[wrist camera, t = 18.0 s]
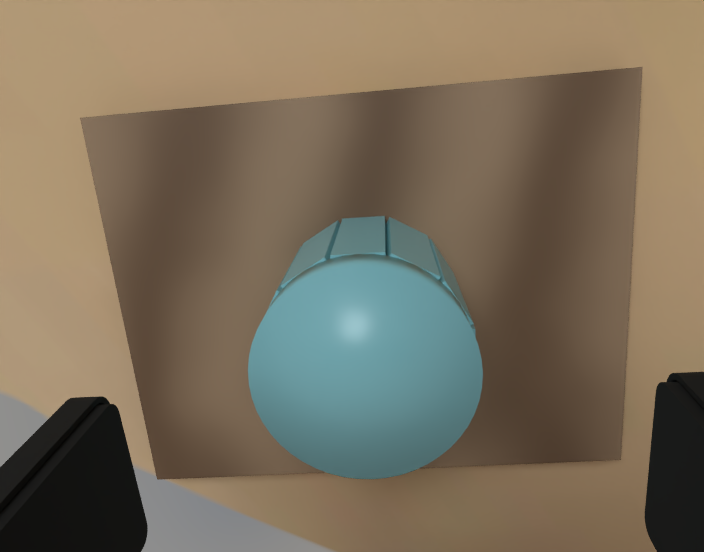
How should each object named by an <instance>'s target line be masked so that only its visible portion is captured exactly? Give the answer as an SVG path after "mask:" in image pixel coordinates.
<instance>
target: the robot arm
mask: <svg viewBox="0 0 704 552" xmlns="http://www.w3.org/2000/svg"><path fill="white" fill-rule="evenodd" d="M645 523H646V528H647V532H648V535H649V537H650V539H651V541H652V543H653V545H654V547H655V549H656V550H657V552H704V372H688V373H672V374H671V375H669V377H668V379H667V382H660V383H659V384H658V386H657V389H656V397H655V408H654V419H653V430H652V441H651V452H650V463H649V473H648V484H647V495H646V506H645ZM146 537H147V521H146V517H145V513H144V509H143V505H142V501H141V497H140V494H139V490H138V485H137V481H136V477H135V473H134V469H133V465H132V461H131V457H130V453H129V449H128V445H127V441H126V437H125V433H124V430H123V426H122V422H121V418H120V414H119V411H118V408H117V407H116V405H114V404H110V403H109V401H108V400H107V399H106V398H104V397H80V398H70V399H69V400H67V401H66V402H65V403H64V404H63V405H62V406H61V407H60V408H59V409H58V410H57V411H56V412H55V413H54V414H53V415H52V416H51V417H50V418H49V419H48V420H47V421H46V422H45V423H44V424H43V425H42V426H41V427H40V428H39V429H38V430H37V431H36V432H35V433H34V434H33V435H32V436H31V437H30V438H29V439H28V440H27V441H26V442H25V443H24V444H23V445H22V446H21V447H20V448H19V449H18V450H17V451H16V452H15V453H14V454H13V455H12V456H11V457H10V458H9V459H8V460H7V461H6V462H5V463H4V464H3V465H2V466H1V467H0V552H141V551H142V549H143V547H144V544H145V542H146Z"/></svg>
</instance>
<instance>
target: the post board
mask: <svg viewBox="0 0 704 552" xmlns="http://www.w3.org/2000/svg"><path fill="white" fill-rule="evenodd" d="M641 82H642V67H637V68H626V69H615V70H604V71H593V72H582V73H571V74H560V75H549V76H538V77H527V78H516V79H505V80H494V81H483V82H471V83H460V84H449V85H438V86H427V87H416V88H405V89H394V90H383V91H372V92H361V93H350V94H339V95H328V96H317V97H306V98H295V99H284V100H273V101H262V102H251V103H240V104H229V105H217V106H206V107H195V108H184V109H173V110H162V111H151V112H140V113H129V114H118V115H107V116H96V117H85V118H80V119H81V124H82V129H83V133H84V138H85V143H86V147H87V152H88V157H89V161H90V166H91V171H92V176H93V180H94V185H95V190H96V194H97V199H98V204H99V208H100V213H101V218H102V222H103V227H104V232H105V237H106V241H107V246H108V251H109V255H110V260H111V265H112V269H113V274H114V279H115V283H116V288H117V293H118V298H119V302H120V307H121V312H122V316H123V321H124V326H125V330H126V335H127V340H128V344H129V349H130V354H131V359H132V363H133V368H134V373H135V377H136V382H137V387H138V391H139V396H140V401H141V405H142V410H143V415H144V420H145V424H146V429H147V434H148V438H149V443H150V448H151V452H152V457H153V462H154V466H155V471H156V476H157V479H180V478H204V477H227V476H251V475H274V474H298V473H321V472H324V471H321V470H319V469H316V468H314V467H312V466H310V465H308V464H306V463H304V462H302V461H301V460H299V459H298V458H296V457H295V456H293V455H292V454H291V453H289V452H288V451H287V450H286V449H285V448H284V447H282V446H281V445H280V444H279V443H278V442H277V441H276V439H275V438H274V437H273V436H272V435H271V434H270V432H269V431H268V430H267V428H266V427H265V425H264V424H263V422H262V420H261V418H260V417H259V415H258V413H257V411H256V408H255V405H254V403H253V400H252V397H251V392H250V387H249V380H248V362H249V354H250V349H251V345H252V341H253V339H254V336H255V334H256V331H257V329H258V327H259V325H260V323H261V321H262V320H263V318H264V316H265V314H266V312H267V310H268V308H269V306H270V303H271V301H272V299H273V297H274V295H275V293H276V291H277V289H278V287H279V285H280V283H281V281H282V280H283V278H284V276H285V274H286V272H287V271H288V269H289V267H290V265H291V263H292V261H293V260H294V258H295V256H296V254H297V252H298V250H299V249H300V247H302V245H303V243H304V242H306V241H307V240H309V239H310V238H312V237H313V236H315V235H316V234H318V233H319V232H321V231H322V230H324V229H325V228H327V227H328V226H330V225H331V224H333V223H334V222H336V221H337V220H338V221H339V222H340V224H341V221H342V219H344V218H360V217H375V216H385V225H386V223H387V221H388V219H389V217H391V218H393V219H395V220H397V221H399V222H401V223H403V224H405V225H407V226H409V227H411V228H414V229H416V230H418V231H420V232H422V233H424V234H426V235H427V236H428V239H432V241H433V242H434V244H435V245H436V247H437V248H438V250H439V251H440V253H441V254H442V256H443V257H444V259H445V261H446V262H447V264H448V265H449V267H450V268H451V270H452V271H453V273H454V276H455V278H456V281H457V283H458V286H459V288H460V291H461V293H462V296H463V298H464V301H465V303H466V306H467V308H468V311H469V313H470V316H471V318H472V321H473V323H474V327H475V338H476V341H477V343H478V346H479V350H480V354H481V359H482V369H483V380H482V390H481V395H480V400H479V403H478V406H477V409H476V411H475V414H474V416H473V418H472V420H471V422H470V424H469V425H468V427H467V429H466V430H465V431H464V433H463V434H462V435H461V437H460V438H459V439H458V440H457V441H456V442H455V443H454V444H453V445H452V447H451V448H450V449H448V450H447V451H446V452H445V453H443V454H442V455H441V456H440V457H438V458H437V459H435V460H433V461H432V462H430V463H429V464H427V465H425V466H423V467H420V468H438V467H462V466H485V465H508V464H532V463H555V462H579V461H602V460H621V449H622V430H623V412H624V394H625V376H626V357H627V339H628V321H629V302H630V284H631V266H632V247H633V229H634V211H635V192H636V174H637V156H638V137H639V119H640V101H641Z"/></svg>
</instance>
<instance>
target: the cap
mask: <svg viewBox="0 0 704 552" xmlns="http://www.w3.org/2000/svg"><path fill="white" fill-rule="evenodd" d="M248 380H249V387H250V392H251V397H252V400H253V403H254V405H255V408H256V411H257V413H258V415H259V417H260V418H261V420H262V422H263V424H264V425H265V427H266V428H267V430H268V431H269V432H270V434H271V435H272V436H273V437H274V438H275V439H276V441H277V442H278V443H279V444H280V445H281V446H282V447H284V448H285V449H286V450H287V451H288V452H289V453H291V454H292V455H293V456H295V457H296V458H298V459H299V460H301V461H302V462H304V463H306V464H308V465H310V466H312V467H314V468H316V469H319V470H321V471H324V472H327V473H330V474H334V475H338V476H342V477H348V478H355V479H379V478H388V477H393V476H398V475H402V474H405V473H408V472H411V471H414V470H416V469H418V468H420V467H423V466H425V465H427V464H429V463H430V462H432V461H433V460H435V459H437V458H438V457H440V456H441V455H442V454H443V453H445V452H446V451H447V450H448V449H450V448H451V447H452V445H453V444H454V443H455V442H456V441H457V440H458V439H459V438H460V437H461V435H462V434H463V433H464V431H465V430H466V429H467V427H468V425H469V424H470V422H471V420H472V418H473V416H474V414H475V411H476V409H477V406H478V403H479V400H480V395H481V390H482V380H483V369H482V359H481V354H480V350H479V346H478V343H477V341H476V338H475V327H474V323H473V321H472V318H471V316H470V313H469V311H468V308H467V306H466V303H465V301H464V298H463V296H462V293H461V291H460V288H459V286H458V283H457V281H456V278H455V276H454V273H453V271H452V270H451V268H450V267H449V265H448V264H447V262H446V261H445V259H444V257H443V256H442V254H441V253H440V251H439V250H438V248H437V247H436V245H435V244H434V242H433V241H432V239H428V236H427V235H426V234H424V233H422V232H420V231H418V230H416V229H414V228H411V227H409V226H407V225H405V224H403V223H401V222H399V221H397V220H395V219H393V218H391V217H389V219H388V221H387V223H386V225H385V216H375V217H360V218H344V219H342V221H341V224H340V222H339V221H338V220H337V221H336V222H334V223H333V224H331V225H330V226H328V227H327V228H325V229H324V230H322V231H321V232H319V233H318V234H316V235H315V236H313V237H312V238H310V239H309V240H307V241H306V242H304V243H303V245H302V247H300V249H299V250H298V252H297V254H296V256H295V258H294V260H293V261H292V263H291V265H290V267H289V269H288V271H287V272H286V274H285V276H284V278H283V280H282V281H281V283H280V285H279V287H278V289H277V291H276V293H275V295H274V297H273V299H272V301H271V303H270V306H269V308H268V310H267V312H266V314H265V316H264V318H263V320H262V321H261V323H260V325H259V327H258V329H257V331H256V334H255V336H254V339H253V341H252V345H251V349H250V354H249V362H248Z"/></svg>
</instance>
